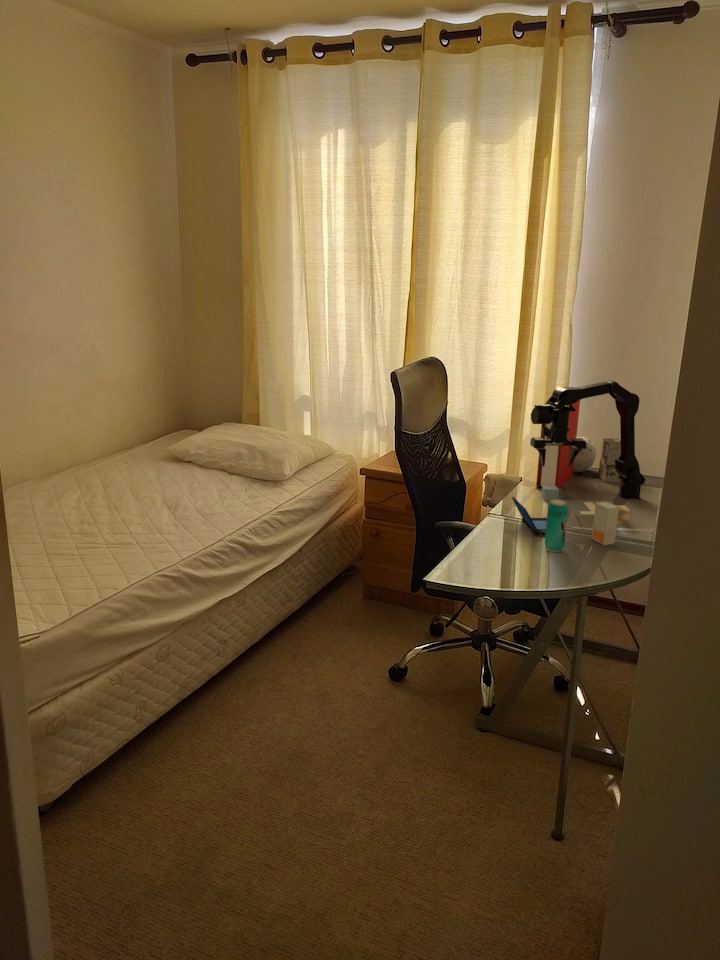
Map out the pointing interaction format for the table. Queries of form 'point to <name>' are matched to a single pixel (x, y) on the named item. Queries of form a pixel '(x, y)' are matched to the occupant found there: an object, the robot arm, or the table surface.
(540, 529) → the handheld game console
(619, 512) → the birch block
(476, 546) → the table surface
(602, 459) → the coffee box
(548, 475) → the book
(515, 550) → the table surface
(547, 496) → the grey cube
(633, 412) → the robot arm
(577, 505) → the letter board
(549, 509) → the beverage can
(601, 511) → the skincare box
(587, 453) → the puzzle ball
